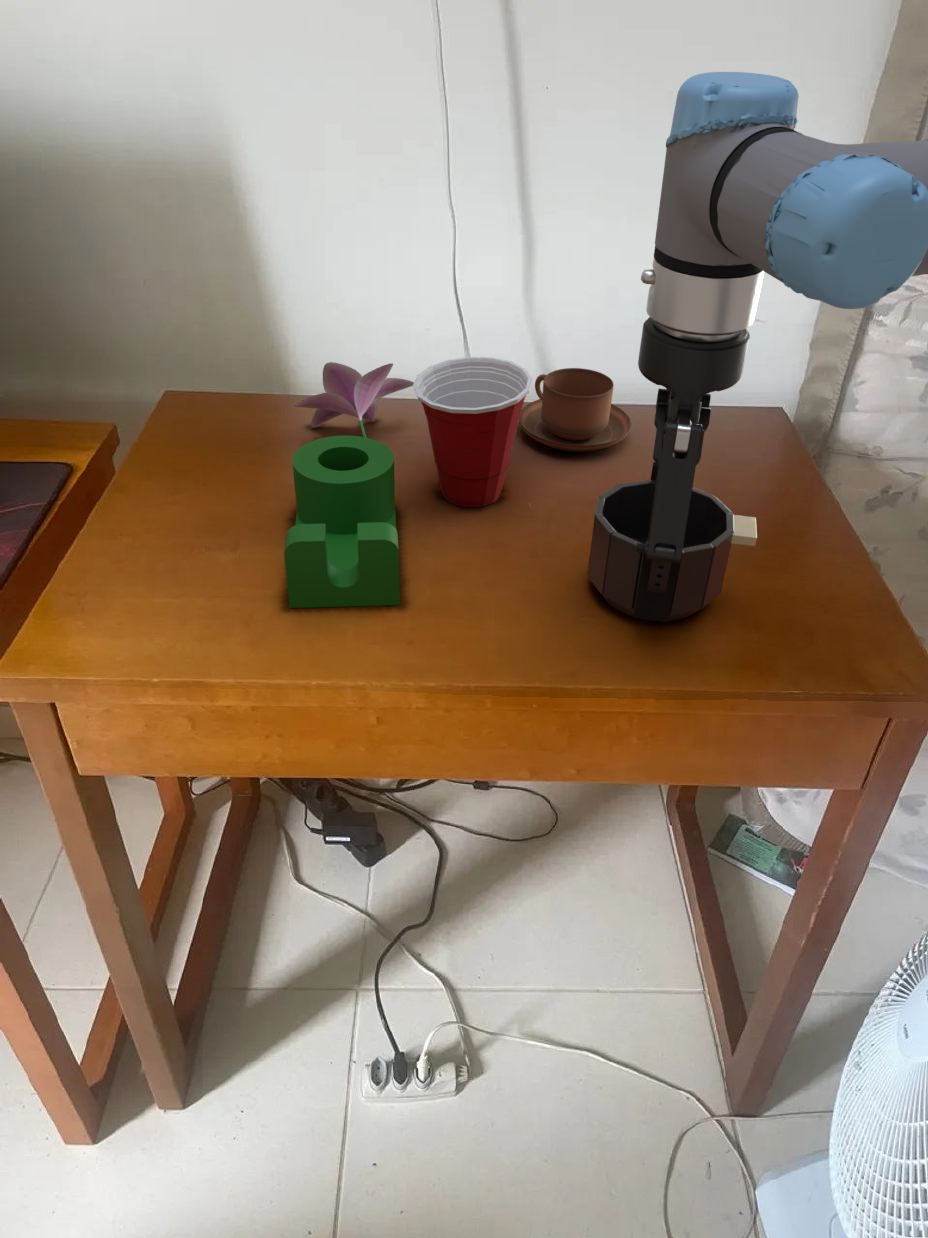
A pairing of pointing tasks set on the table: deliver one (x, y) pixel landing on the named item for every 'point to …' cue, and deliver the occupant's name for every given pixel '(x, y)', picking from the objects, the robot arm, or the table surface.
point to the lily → (352, 393)
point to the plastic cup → (472, 423)
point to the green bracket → (343, 525)
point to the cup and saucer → (575, 411)
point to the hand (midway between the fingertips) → (654, 571)
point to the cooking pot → (628, 523)
